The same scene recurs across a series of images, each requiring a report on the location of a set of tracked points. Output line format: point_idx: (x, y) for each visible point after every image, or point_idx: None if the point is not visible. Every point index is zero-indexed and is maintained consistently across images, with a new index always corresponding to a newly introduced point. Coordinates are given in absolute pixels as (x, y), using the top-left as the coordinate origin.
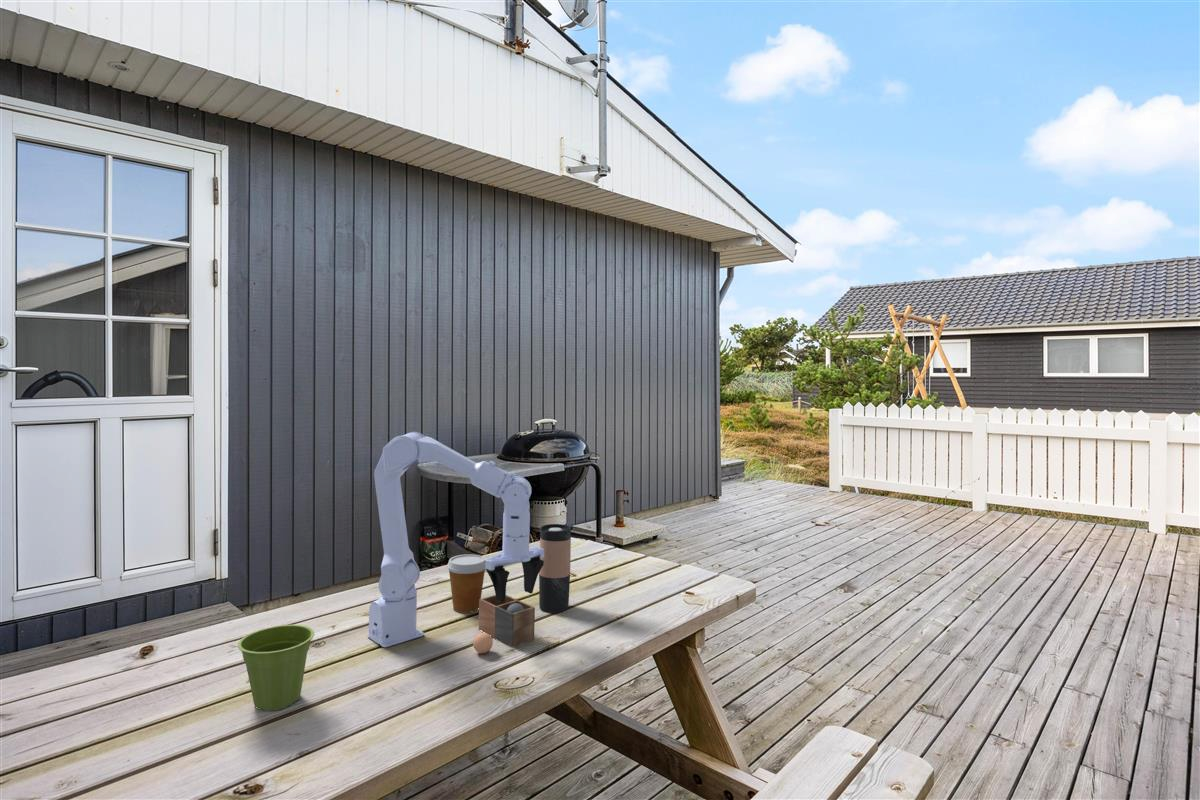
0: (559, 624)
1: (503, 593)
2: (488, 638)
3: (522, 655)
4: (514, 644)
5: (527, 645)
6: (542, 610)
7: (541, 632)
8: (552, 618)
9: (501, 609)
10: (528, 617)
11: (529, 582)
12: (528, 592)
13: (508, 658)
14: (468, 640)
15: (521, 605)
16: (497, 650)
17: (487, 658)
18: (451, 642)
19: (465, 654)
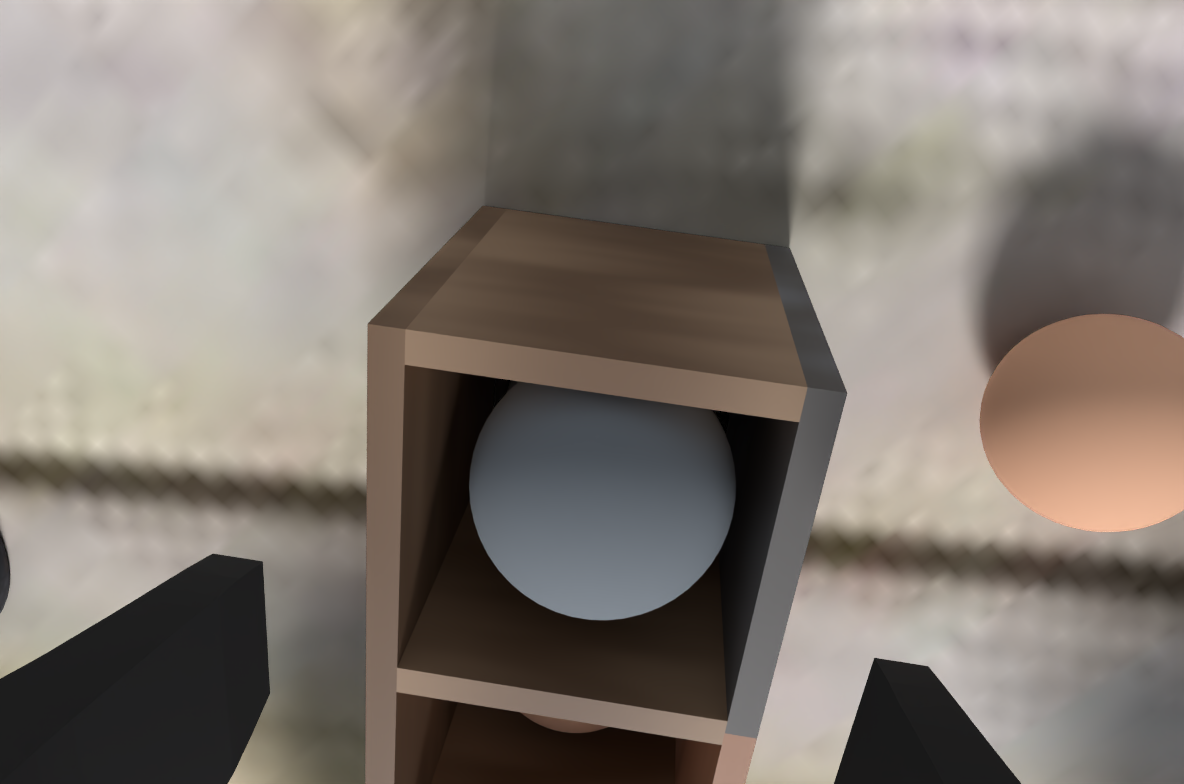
0: (47, 254)
1: (1006, 779)
2: (1142, 378)
3: (880, 4)
4: (751, 246)
5: (644, 150)
6: (5, 570)
7: (315, 261)
8: (24, 400)
9: (782, 627)
10: (523, 299)
11: (146, 748)
12: (261, 610)
13: (1034, 74)
14: (906, 635)
15: (517, 491)
16: (932, 305)
17: (1150, 251)
18: (1022, 705)
19: None
